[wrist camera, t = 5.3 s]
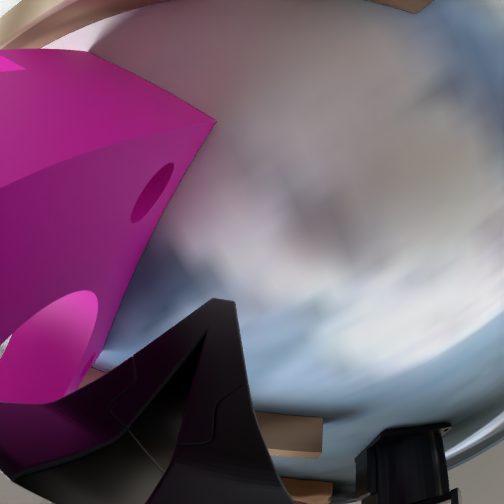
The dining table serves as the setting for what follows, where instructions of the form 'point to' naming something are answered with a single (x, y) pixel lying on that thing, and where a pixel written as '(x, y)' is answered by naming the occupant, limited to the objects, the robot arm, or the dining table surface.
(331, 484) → the plant
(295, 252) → the dining table surface
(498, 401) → the dining table surface
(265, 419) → the lane rails
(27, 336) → the toy block
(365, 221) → the dining table surface
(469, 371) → the dining table surface
